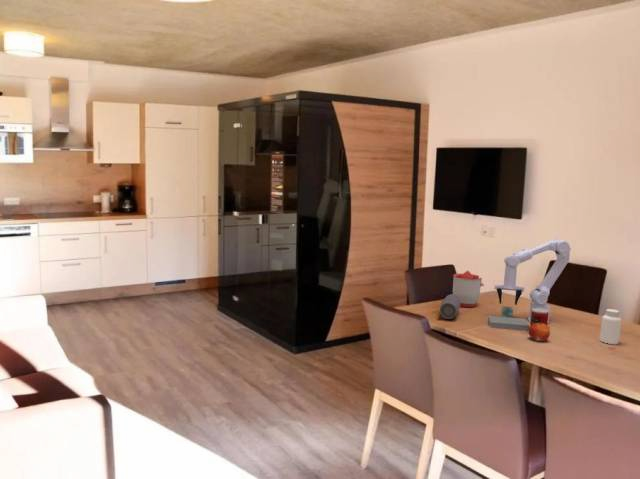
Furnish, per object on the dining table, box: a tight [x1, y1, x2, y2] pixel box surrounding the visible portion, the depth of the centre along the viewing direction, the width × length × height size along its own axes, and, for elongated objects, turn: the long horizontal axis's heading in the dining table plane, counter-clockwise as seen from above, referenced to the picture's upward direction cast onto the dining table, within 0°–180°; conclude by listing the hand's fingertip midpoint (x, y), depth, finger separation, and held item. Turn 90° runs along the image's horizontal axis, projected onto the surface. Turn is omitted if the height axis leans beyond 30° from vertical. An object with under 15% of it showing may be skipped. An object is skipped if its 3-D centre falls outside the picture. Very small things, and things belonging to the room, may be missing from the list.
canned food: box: [529, 308, 549, 327], centre depth 269 cm, size 8×8×11 cm
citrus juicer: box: [452, 270, 485, 308], centre depth 319 cm, size 16×17×20 cm
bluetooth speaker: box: [439, 293, 461, 320], centre depth 294 cm, size 23×9×10 cm, turn 161°
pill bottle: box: [599, 308, 623, 345], centre depth 257 cm, size 8×8×15 cm
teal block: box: [500, 305, 514, 318], centre depth 292 cm, size 5×5×6 cm
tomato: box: [528, 323, 551, 342], centre depth 257 cm, size 9×9×8 cm
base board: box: [487, 315, 530, 332], centre depth 280 cm, size 18×13×2 cm
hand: (507, 303), depth 292 cm, fingers open, 7 cm apart
